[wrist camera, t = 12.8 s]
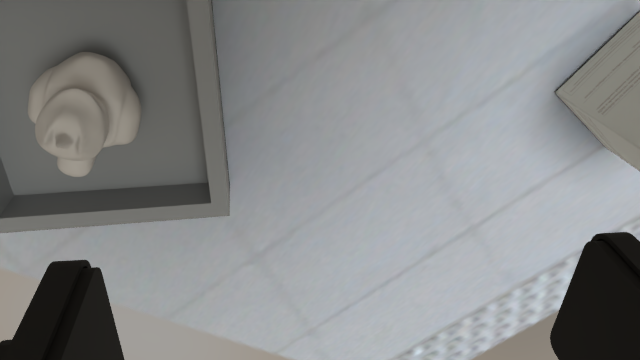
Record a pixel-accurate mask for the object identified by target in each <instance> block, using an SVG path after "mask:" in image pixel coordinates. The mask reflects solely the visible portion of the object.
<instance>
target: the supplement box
mask: <svg viewBox="0 0 640 360" xmlns="http://www.w3.org/2000/svg"><path fill="white" fill-rule="evenodd" d="M556 94H557V95H558V96H559V97H560V98H561V99H562V101H563V102H564V103H565V104H566V105H567V106H568V107H569V108H570V109H571V110H572V111H573V112H574V113H575V115H576V116H577V117H578V118H579V119H580V120H581V121H582V122H583V123H584V124H585V125H586V126H587V128H588V129H589V130H590V131H591V132H592V133H593V134H594V135H595V136H596V137H597V138H598V140H599V141H600V142H601V143H602V144H603V145H604V146H605V147H606V148H607V149H608V150H610V151H611V152H613V153H614V154H616V155H617V156H619V157H620V158H621V159H623V160H624V161H626V162H627V163H629V164H630V165H631V166H633V167H634V168H636V169H637V170H639V171H640V12H639V13H638V14H637V15H636V16H635V17H634V18H633V19H632V20H631V21H630V22H629V23H628V24H626V25H625V26H624V27H623V28H622V29H621V30H620V31H619V32H618V33H617V34H616V35H615V36H614V37H613V38H612V39H611V40H610V41H609V42H608V43H607V44H606V45H605V46H603V47H602V48H601V49H600V50H599V51H598V52H597V53H596V54H595V55H594V56H593V57H592V58H591V59H590V60H589V61H588V62H587V63H586V64H585V65H584V66H583V67H582V68H580V69H579V70H578V71H577V72H576V73H575V74H574V75H573V76H572V77H571V78H570V79H569V80H568V81H567V82H566V83H565V84H564V85H563V86H562V87H560V88H559V89H558V90H557V91H556Z"/></svg>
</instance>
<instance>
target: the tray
mask: <svg viewBox="0 0 640 360" xmlns="http://www.w3.org/2000/svg"><path fill="white" fill-rule="evenodd" d="M80 52H92V53H96V54H100V55H103V56H105V57H108V58H109V59H112V60H114V61H115V62H116V63H117V64H118V65H119V66H120V67H121V69H122V70H123V71H124V72H125V74H126V75H127V76H128V78H129V79H130V82H131V87H132V88H133V89H134V91H135V92H136V94H137V96H138V98H139V101H140V104H141V119H140V124H139V128H138V133H137V136H136V138H135V139H134V140H133V141H132V142H130V143H128V144H124V145H113V146H110V147H104V148H102V149H101V151H100V152H99V153H98V154H97V155H96V158H95V161H94V164H93V167H92V169H91V171H90V172H89V173H88V174H87V175H85V176H82V177H73V176H69V175H67V174H64V173H63V172H62V171H60V169H59V168H58V166H57V159H58V157H57V156H54V155H52V154H50V153H49V152H47V151H45V150H44V149H43V148H42V147H41V146H40V145H39V143H38V142H37V139H36V135H35V123H34V122H33V121H32V120H31V119H30V118H29V115H28V102H29V93H30V89H31V87H32V85H33V84H34V83H35V81H36V80H37V79H38V78H39V77H40V76H41V75H42V74H43V73H44V72H45V71H46V70H48V69H50V68H52V67H55V66H57V65H59V64H60V63H62V62H63V61H65V60H66V59H68V58H69V57H71V56H73V55H75V54H77V53H80ZM229 213H230V183H229V173H228V163H227V153H226V142H225V132H224V122H223V112H222V101H221V91H220V81H219V70H218V60H217V50H216V40H215V29H214V19H213V9H212V0H0V233H8V232H21V231H35V230H48V229H61V228H74V227H87V226H100V225H114V224H127V223H140V222H153V221H166V220H180V219H193V218H206V217H219V216H229Z"/></svg>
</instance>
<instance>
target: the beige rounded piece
mask: <svg viewBox="0 0 640 360" xmlns="http://www.w3.org/2000/svg"><path fill="white" fill-rule="evenodd" d="M28 115H29V118H30V119H31V120H32V121H33V122H34V123H35V135H36V139H37V142H38V143H39V145H40V146H41V147H42V148H43V149H44V150H45V151H47V152H49V153H50V154H52V155H54V156H57V157H58V159H57V166H58V168H59V169H60V171H62V172H63V173H64V174H67V175H69V176H73V177H82V176H85V175H87V174H88V173H89V172H90V171H91V169H92V167H93V164H94V161H95V158H96V155H97V154H98V153H99V152H100V151H101V149H102V148H104V147H110V146H113V145H124V144H128V143H130V142H132V141H133V140H134V139H135V138H136V136H137V133H138V128H139V124H140V119H141V104H140V101H139V98H138V96H137V94H136V92H135V91H134V89H133V88H132V87H131V82H130V79H129V78H128V76H127V75H126V74H125V72H124V71H123V70H122V69H121V67H120V66H119V65H118V64H117V63H116V62H115V61H114V60H112V59H109V58H108V57H105V56H103V55H100V54H96V53H92V52H80V53H77V54H75V55H73V56H71V57H69V58H68V59H66V60H65V61H63V62H62V63H60V64H59V65H57V66H55V67H52V68H50V69H48V70H46V71H45V72H44V73H43V74H42V75H41V76H40V77H39V78H38V79H37V80H36V81H35V83H34V84H33V85H32V87H31V89H30V93H29V102H28Z"/></svg>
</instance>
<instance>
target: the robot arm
mask: <svg viewBox="0 0 640 360" xmlns="http://www.w3.org/2000/svg"><path fill="white" fill-rule="evenodd" d="M550 340H551V345H552V348H553V350H554V352H555V354H556V356H557V357H558V359H559V360H640V242H639V241H638V240H637V239H636V238H635V237H634V236H633V235H632V234H630V233H627V232H619V233H601V234H596V235H595V236H594V237H593V238H592V240H591V241H590V242H588V243H586V245H585V246H584V249H583V251H582V254H581V256H580V259H579V261H578V264H577V267H576V269H575V272H574V274H573V277H572V279H571V282H570V285H569V287H568V290H567V292H566V295H565V297H564V300H563V303H562V305H561V308H560V310H559V313H558V315H557V318H556V321H555V323H554V326H553V328H552V331H551V335H550ZM0 360H124V357H123V352H122V349H121V345H120V341H119V337H118V333H117V330H116V326H115V322H114V318H113V314H112V310H111V306H110V303H109V299H108V295H107V291H106V287H105V283H104V279H103V276H102V272H101V270H100V268H98V267H96V268H91V266H90V263H89V262H88V261H87V260H74V261H55V262H52V263H50V265H49V266H48V268H47V270H46V272H45V274H44V276H43V278H42V280H41V282H40V284H39V286H38V288H37V291H36V292H35V295H34V297H33V299H32V301H31V303H30V305H29V307H28V309H27V311H26V313H25V315H24V317H23V319H22V321H21V323H20V325H19V327H18V329H17V331H16V333H15V335H14V337H13V339H12V340H5V341H2V342H0Z"/></svg>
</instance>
